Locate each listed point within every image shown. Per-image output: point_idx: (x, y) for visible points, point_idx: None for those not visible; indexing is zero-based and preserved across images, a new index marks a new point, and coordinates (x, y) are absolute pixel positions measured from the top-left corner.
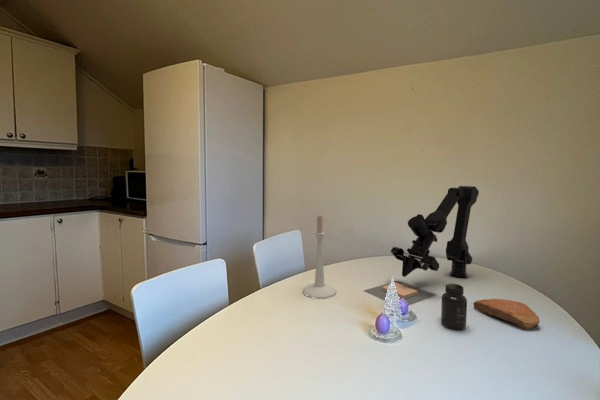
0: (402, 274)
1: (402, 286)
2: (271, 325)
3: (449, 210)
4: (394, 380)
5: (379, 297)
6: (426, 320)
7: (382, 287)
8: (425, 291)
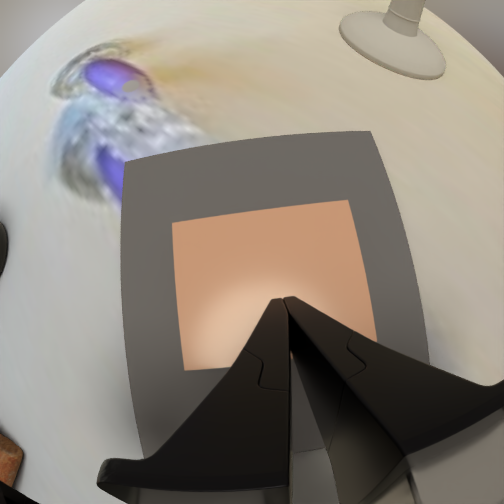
0: (286, 297)
1: None
2: None
3: None
4: (30, 54)
5: (264, 143)
6: (35, 198)
7: (343, 201)
8: None
